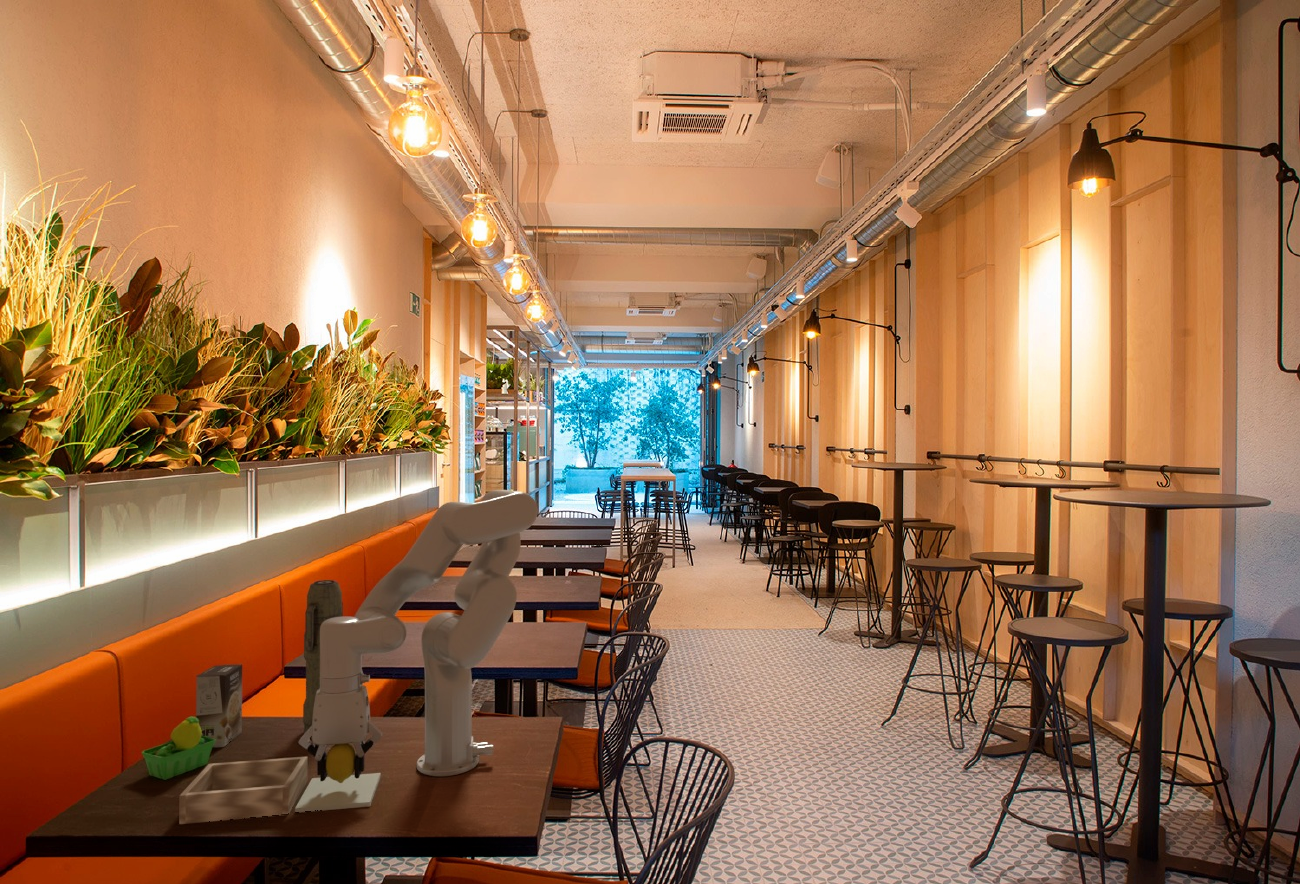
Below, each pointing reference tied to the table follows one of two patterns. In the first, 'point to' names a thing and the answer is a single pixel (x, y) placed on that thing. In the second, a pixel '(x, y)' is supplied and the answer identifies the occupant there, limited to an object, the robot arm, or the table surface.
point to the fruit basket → (179, 751)
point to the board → (339, 793)
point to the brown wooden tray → (243, 790)
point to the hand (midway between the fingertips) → (341, 775)
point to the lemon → (340, 762)
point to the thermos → (317, 636)
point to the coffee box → (220, 703)
